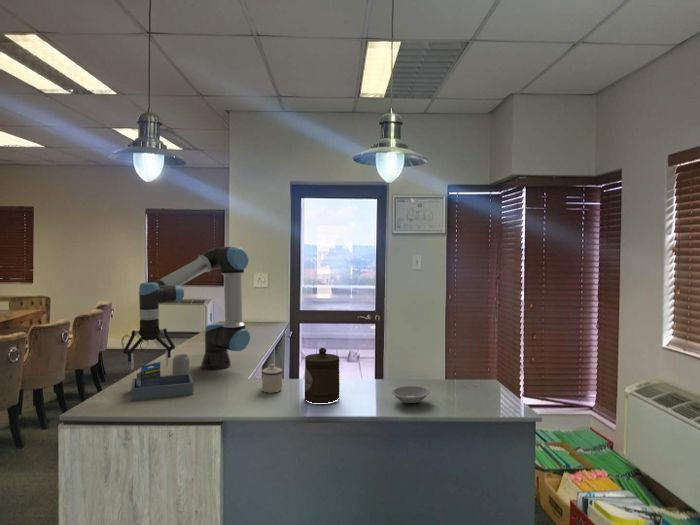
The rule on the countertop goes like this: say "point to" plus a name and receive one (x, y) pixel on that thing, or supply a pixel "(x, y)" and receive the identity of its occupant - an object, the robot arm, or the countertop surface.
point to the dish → (410, 393)
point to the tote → (164, 388)
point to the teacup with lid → (272, 379)
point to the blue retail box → (149, 376)
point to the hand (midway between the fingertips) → (149, 367)
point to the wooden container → (321, 377)
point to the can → (180, 364)
